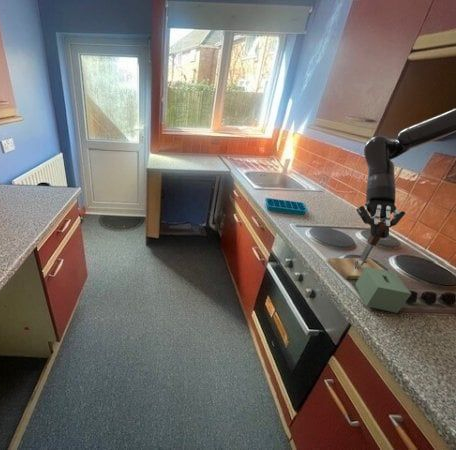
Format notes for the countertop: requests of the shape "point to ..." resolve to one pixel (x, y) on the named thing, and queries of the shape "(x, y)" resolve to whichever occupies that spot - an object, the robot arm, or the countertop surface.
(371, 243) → the knife
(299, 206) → the ice cube tray
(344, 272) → the cutting board
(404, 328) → the countertop surface
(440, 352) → the countertop surface
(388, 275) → the grey-green block
